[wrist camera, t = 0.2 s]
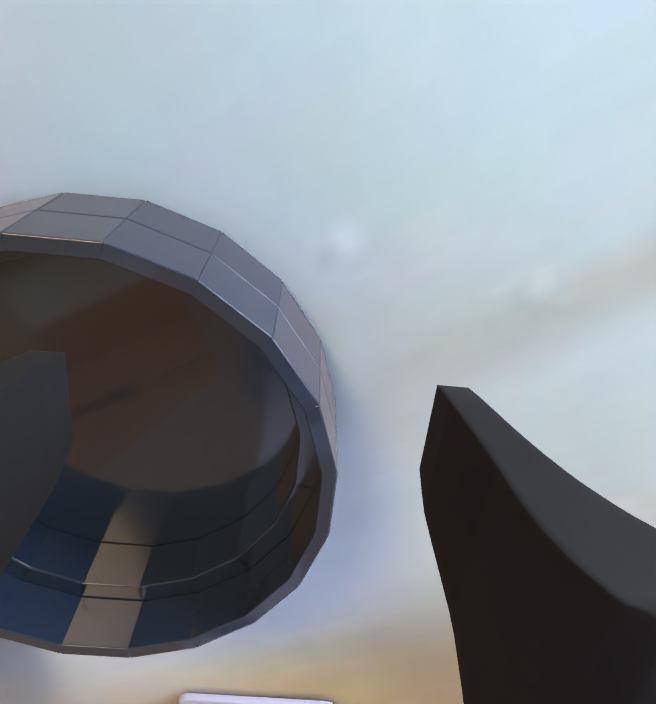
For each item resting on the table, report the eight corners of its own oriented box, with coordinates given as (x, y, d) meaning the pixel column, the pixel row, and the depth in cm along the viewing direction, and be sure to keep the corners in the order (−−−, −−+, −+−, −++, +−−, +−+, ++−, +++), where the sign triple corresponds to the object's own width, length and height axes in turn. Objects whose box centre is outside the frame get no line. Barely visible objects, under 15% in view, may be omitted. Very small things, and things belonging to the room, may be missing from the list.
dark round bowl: (313, 567, 28) (310, 669, 23) (-54, 542, 27) (-129, 642, 23) (356, 216, 21) (365, 266, 16) (-145, 166, 20) (-281, 205, 15)
